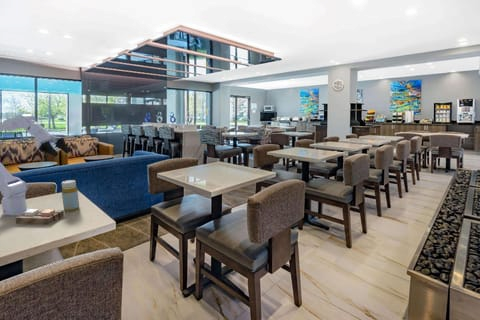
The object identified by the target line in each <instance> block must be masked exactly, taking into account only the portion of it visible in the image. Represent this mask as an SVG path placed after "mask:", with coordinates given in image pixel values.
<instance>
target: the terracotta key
mask: <svg viewBox="0 0 480 320" xmlns="http://www.w3.org/2000/svg"><path fill="white" fill-rule="evenodd" d="M44 210H45V211H43V212H41V216H51V215H53V214H54V213H55V210H56V209H48V208H47V209H44Z"/></svg>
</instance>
